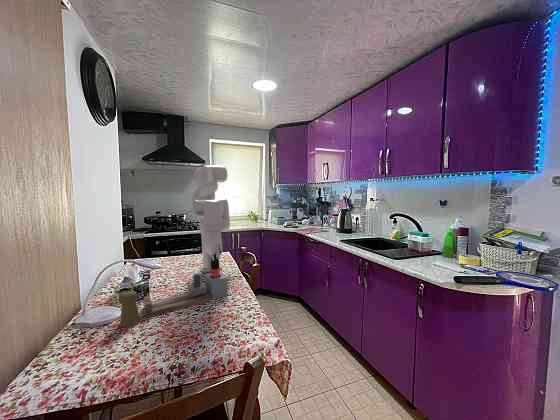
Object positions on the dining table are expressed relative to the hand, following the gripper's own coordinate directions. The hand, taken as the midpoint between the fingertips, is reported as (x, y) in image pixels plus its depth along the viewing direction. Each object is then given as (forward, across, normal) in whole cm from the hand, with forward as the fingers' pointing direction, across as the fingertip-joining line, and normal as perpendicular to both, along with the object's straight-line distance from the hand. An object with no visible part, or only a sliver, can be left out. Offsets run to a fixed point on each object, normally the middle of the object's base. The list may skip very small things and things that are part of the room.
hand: (215, 268), depth 104 cm
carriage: (+9, 0, -8) cm, 13 cm away
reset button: (+4, 0, 0) cm, 4 cm away
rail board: (+12, 0, -16) cm, 20 cm away
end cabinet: (+11, 0, 0) cm, 11 cm away
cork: (+12, +5, -33) cm, 35 cm away
